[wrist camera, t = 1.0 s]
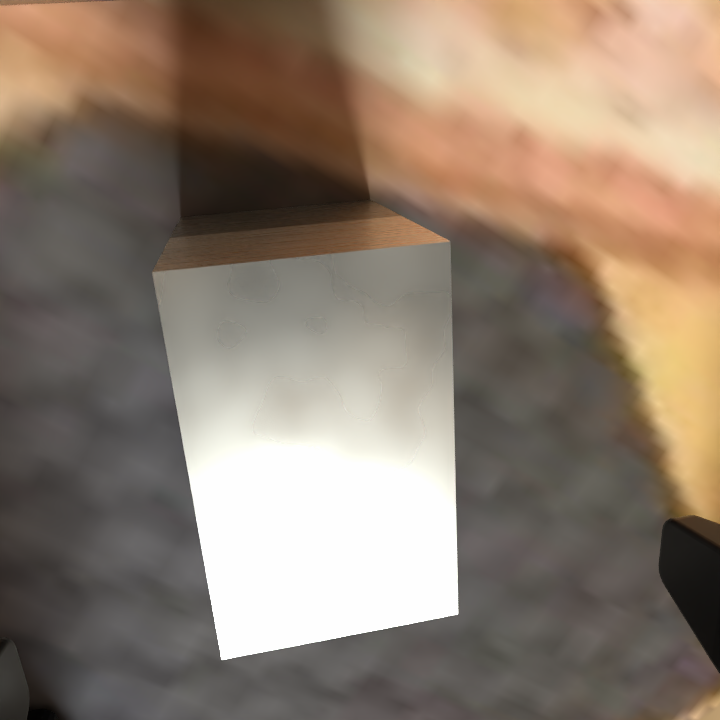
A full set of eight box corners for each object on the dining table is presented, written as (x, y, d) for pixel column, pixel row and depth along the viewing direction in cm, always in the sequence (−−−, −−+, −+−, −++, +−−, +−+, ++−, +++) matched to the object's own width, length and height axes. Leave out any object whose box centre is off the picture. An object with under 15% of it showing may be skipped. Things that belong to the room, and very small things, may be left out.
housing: (385, 460, 21) (458, 613, 14) (224, 485, 20) (221, 659, 13) (369, 199, 18) (449, 241, 11) (181, 216, 17) (151, 272, 11)
